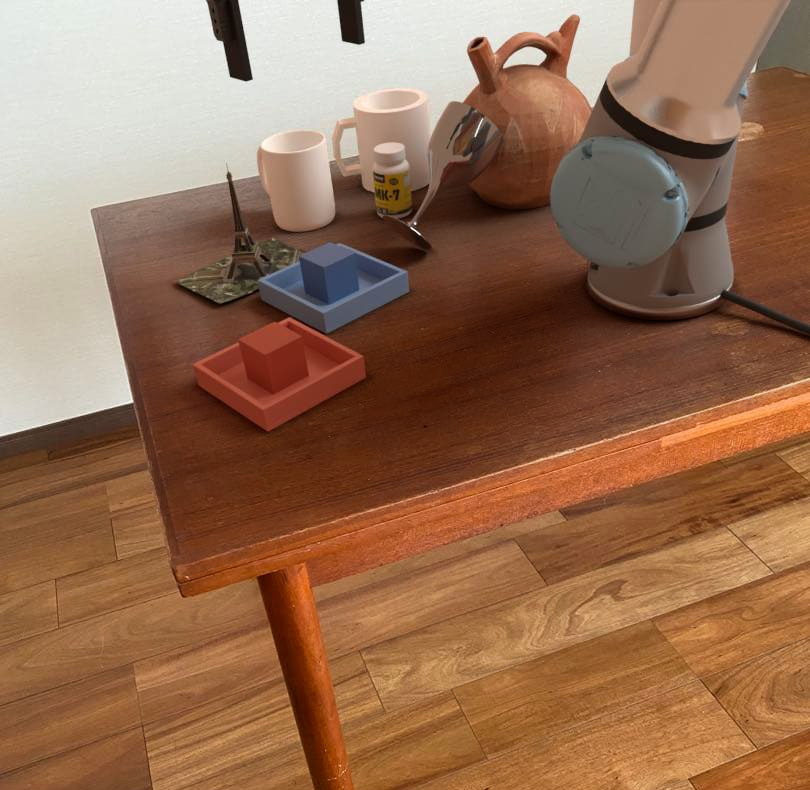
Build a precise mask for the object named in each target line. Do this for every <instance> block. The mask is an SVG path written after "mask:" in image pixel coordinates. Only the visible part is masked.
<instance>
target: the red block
mask: <svg viewBox="0 0 810 790" xmlns="http://www.w3.org/2000/svg"><path fill="white" fill-rule="evenodd" d="M237 341H238V342H239V345H240V349H241V353H242V358H243V362H244V366H245V370H246V374H247V378H248V379H249V380H251V381H252V382H254V383H256V384H257V385H259V386H260V387H262V388H264V389H265V390H267V391H268V392H270V393H272V394H275V393H277V392H279V391H281V390H283V389H285V388H287V387H288V386H290V385H292V384H294V383H296V382H298V381H300V380H302V379H303V378H305V377H307V376H309V373H308V367H307V362H306V356H305V351H304V345H303V340H302V336H301V335H299V334H297V333H295V332H293V331H292V330H290V329H288V328H286V327H284V326H282V325H280V324H279V322H277V321H272V322H271V323H269V324H267V325H265V326H262V327H260V328H259V329H257V330H254V331H251V333H248V334H246V335H244V336H242V337H240V338H238V340H237Z"/></svg>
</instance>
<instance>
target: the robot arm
mask: <svg viewBox="0 0 810 790" xmlns="http://www.w3.org/2000/svg"><path fill="white" fill-rule="evenodd" d="M205 1H206V4H207V7H208V13H209V17H210V23H211V27H212V32H213V36H214V37H215V39H216V41H218V42H222V44H223V49H224V55H225V59H226V65H227V70H228V74H229V78H231V79H236V80H239V81H242V82H250V81H253V80H254V78H253V73H252V67H251V62H250V56H249V51H248V45H247V40H246V34H245V29H244V23H243V18H242V12H241V8H240V1H239V0H205ZM363 2H365V0H336V3H337V11H338V19H339V28H340V35H341V42H343V43H348V44H352V45H353V44H354V45H357V46H360V45H364V44H365V43H366V40H365V30H364V29H365V28H364V20H363V19H364V18H363V11H362V9H363V8H362V3H363ZM790 3H791V0H661V2H660V4H659V6H658V9H657V11H656V13H655V15H654V18H653V20H652V22H651V24H650V27H649V29H648V31H647V33H646V36H645V38H644V40H643V42H642V45H641V47H640V49H639V51H638V54H636V55H633V56H630V57H629V56H628V57H627V58H626V59H624V60H623V61H620V62H618V63H616V64H615V65H613V66H612V67H611V69H609V72H608V73H607V76H606V77H605V80H604V83H603V85H602V87H601V90H600V92H599V94H598V96H597V98H596V101H595V103H594V105H593V108H592V113H591V115H590V117H589V120H588V122H587V124H586V127H585V129H584V131H583V133H582V136H581V138H580V139H579V141H578V143H577V144H576V145H574V146H573V147H572V148H571V149H570V150H569V151H567V152H566V155H565V156H564V157H563V158H562V160H561V161H560V164H559V166H558V169H557V171H556V173H555V175H554V178H553V181H552V185H551V192H550V208H551V214H552V218H553V220H554V221H555V224H556V226H557V228H558V229H559V234H560V235H561V237H562V238H563V240H564V241H565V243H567V244H568V246H569V247H570V248H571V249H572V250H573V251H575V252H576V253H577V254H578V255H580V256H581V257H582V258H584V259H586V261H587V262H586V263H587V264H586V269H588V270H587V282H586V288H587V292H588V294H589V296H590V297H591V298H592V300H594V302H596V303H597V304H598V305H600V307H601V306H602V307H603V308H605V309H607V310H609V311H611V312H613V313H616V314H618V315H621V316H625V317H629V318H635V319H640V320H651V321H673V320H675V321H676V320H682V319H683V320H684V319H688V318H689V319H690V318H694V317H697V316H701V315H704V314H707V313H709V312H712V311H714V310H716V309H717V308H719V307H721V306H722V305H724V303H726V302H727V301H729V302H731V303H734V304H736V305H738V306H740V307H743V308H745V309H748V310H750V311H752V312H755V313H757V314H759V315H761V316H764V317H766V318H768V319H771V320H773V321H775V322H778V323H780V324H782V325H784V326H787V327H788V328H789V327H790V328H792V329H794V330H796V331H799V332H802V333H804V334H807V335H809V336H810V324H809V323H806V322H804V321H802V320H799V319H797V318H795V317H791V316H790V315H786V314H785V313H782V312H780V311H777V310H775V309H773V308H771V307H769V306H766V305H764V304H762V303H760V302H757V301H754V300H752V299H750V298H747V297H745V296H742V295H739V294H737V293H734V292H732V290H733V283H734V277H735V276H734V273H735V272H734V263H733V261H732V253H731V246H730V241H729V240H730V239H729V234H728V228H727V222H726V216H727V210H728V202H729V199H730V197H729V196H730V191H731V186H732V179H733V173H734V167H735V162H736V155H737V148H738V142H739V136H740V132H741V129H742V117H743V113H744V107H745V101H746V99H748V96H749V92H748V79H749V76H750V75H751V73H752V71H753V69H755V65H757V62H758V61H759V58H760V57H761V55H762V53H763V51H764V49H765V47H766V46H767V44H768V42H769V40H770V39H771V37H772V35H773V33H774V31H775V29H776V28H777V26H778V24H779V22H780V20H781V18H782V17H783V16H784V13H785V12H786V9H787V7H788V6H789V4H790Z"/></svg>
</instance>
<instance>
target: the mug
mask: <svg viewBox="0 0 810 790" xmlns="http://www.w3.org/2000/svg"><path fill="white" fill-rule="evenodd" d="M352 107H353V117H347V118H343V119H337V120H336V124H335V126H334V129H333V133H332V137H331V142H332V153H333V158H334V160H335V162H336V164H337V166H338V168H339V171H340V173H341V174H342V176H343V177H349V176H355V175H360V176H361V177H360V178H361V184H362V187H363V188H364V189H365V190H366V191H369V192H372V193H374V194H375V190H374V180H373V170H372V168H373V164H374V163H375V160H374V148H375V147H376V146H377V145H380V144H383V143H390V142H394V143H401V144H403V145H404V147H405V154H406V157H405V160H406V161H407V162H408V164H409V171H410V184H411V192H415V191H418V190H421V189H423V188H425V187H426V186H429V182H430V173H429V165H428V146H429V142H430V139H431V136H432V135H431V121H430V106H429V96H428V94H427V93H426V92H424V91H423V90H419V89H416V88H408V87H407V88H405V87H403V88H402V87H398V88H395V87H393V88H386V89H385V88H384V89H380V90H374V91H371V92H368V93H365V94H362V95H360V96H359V97H357V98H356V99H354V100H353V102H352ZM354 128H355V134H356V141H357V149H358V151H357V152H358V158H359V159H358V160H359V163H355V164H350V165H345V164H344V162H343V159H342V153H341V140H342V137H343V133H344V130H348V129H354Z"/></svg>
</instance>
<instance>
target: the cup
mask: <svg viewBox="0 0 810 790" xmlns="http://www.w3.org/2000/svg"><path fill="white" fill-rule="evenodd" d="M256 163H257V171H258V174H259V176H258V177H259V179H260V183H261V184H262V187H263V189H264V190H265V192H266V193H267V195H268V196H269V198H270V199H269V200H270V204H271V205H270V206H271V209H272V215H273V219H274V222H275V224H276V225H277V226H278V227H279V228H280V229H282V230H284V231H287V232H294V233H296V232H297V233H301V232H309V231H314V230H318V229H321V228H323V227H325V226H327V225H329V224H331V223H332V222H333V220H334V219H335V217H336V203H335V196H334V189H333V183H332V182H333V181H332V174H331V166H330V161H329V153H328V146H327V140H326V136H325V134H324V133H322V132H320V131H316V130H313V129H312V130H311V129H296V130H295V129H294V130H288V131H282V132H280V133H275V134H273V135H269V136H268V137H266V138H264V140H263V141H262V142H260V145H259V146H258V148H257V151H256Z"/></svg>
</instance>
